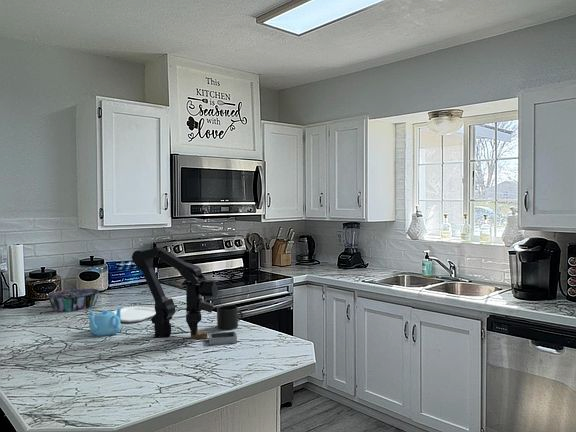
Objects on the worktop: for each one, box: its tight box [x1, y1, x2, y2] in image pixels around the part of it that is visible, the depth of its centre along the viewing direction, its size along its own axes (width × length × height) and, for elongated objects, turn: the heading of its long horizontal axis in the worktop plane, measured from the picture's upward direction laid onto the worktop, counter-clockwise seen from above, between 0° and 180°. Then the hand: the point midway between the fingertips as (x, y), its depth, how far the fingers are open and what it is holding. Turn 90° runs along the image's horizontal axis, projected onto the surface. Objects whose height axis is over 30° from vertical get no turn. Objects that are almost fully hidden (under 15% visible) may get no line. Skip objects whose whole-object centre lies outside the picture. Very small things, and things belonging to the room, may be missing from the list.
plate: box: [111, 305, 156, 324], centre depth 237 cm, size 25×25×2 cm
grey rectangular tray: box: [208, 331, 238, 346], centre depth 193 cm, size 11×8×2 cm
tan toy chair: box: [189, 323, 208, 340], centre depth 199 cm, size 7×4×7 cm, turn 102°
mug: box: [216, 305, 244, 331], centre depth 214 cm, size 9×12×9 cm
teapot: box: [87, 305, 123, 337], centre depth 208 cm, size 15×15×10 cm
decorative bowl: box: [47, 288, 101, 313], centre depth 259 cm, size 26×28×10 cm
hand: (193, 332), depth 198 cm, fingers open, 9 cm apart
